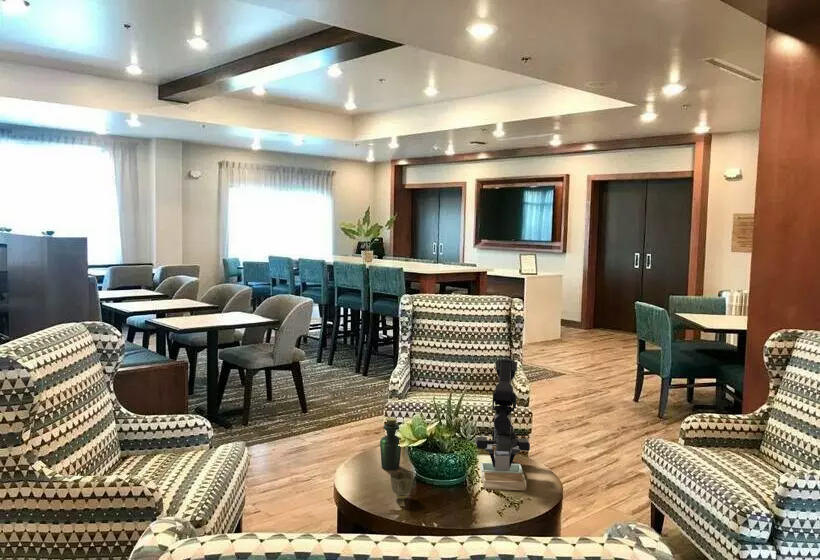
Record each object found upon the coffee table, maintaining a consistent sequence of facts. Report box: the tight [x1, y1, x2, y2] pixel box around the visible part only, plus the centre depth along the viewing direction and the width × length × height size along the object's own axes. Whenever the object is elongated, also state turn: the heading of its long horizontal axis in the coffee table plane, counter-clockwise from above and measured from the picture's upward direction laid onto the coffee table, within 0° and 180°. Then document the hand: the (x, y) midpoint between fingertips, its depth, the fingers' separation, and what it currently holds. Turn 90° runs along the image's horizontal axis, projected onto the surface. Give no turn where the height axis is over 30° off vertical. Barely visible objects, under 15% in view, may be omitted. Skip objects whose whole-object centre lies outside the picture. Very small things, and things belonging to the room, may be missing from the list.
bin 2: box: [481, 472, 528, 491], centre depth 216 cm, size 8×14×4 cm, turn 87°
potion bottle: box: [379, 417, 402, 471], centre depth 232 cm, size 8×8×18 cm
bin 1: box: [480, 462, 524, 476], centre depth 225 cm, size 8×14×4 cm, turn 87°
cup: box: [389, 470, 414, 501], centre depth 204 cm, size 8×7×8 cm
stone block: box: [494, 450, 510, 471], centre depth 225 cm, size 5×5×6 cm
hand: (501, 467), depth 225 cm, fingers closed on stone block, 5 cm apart
